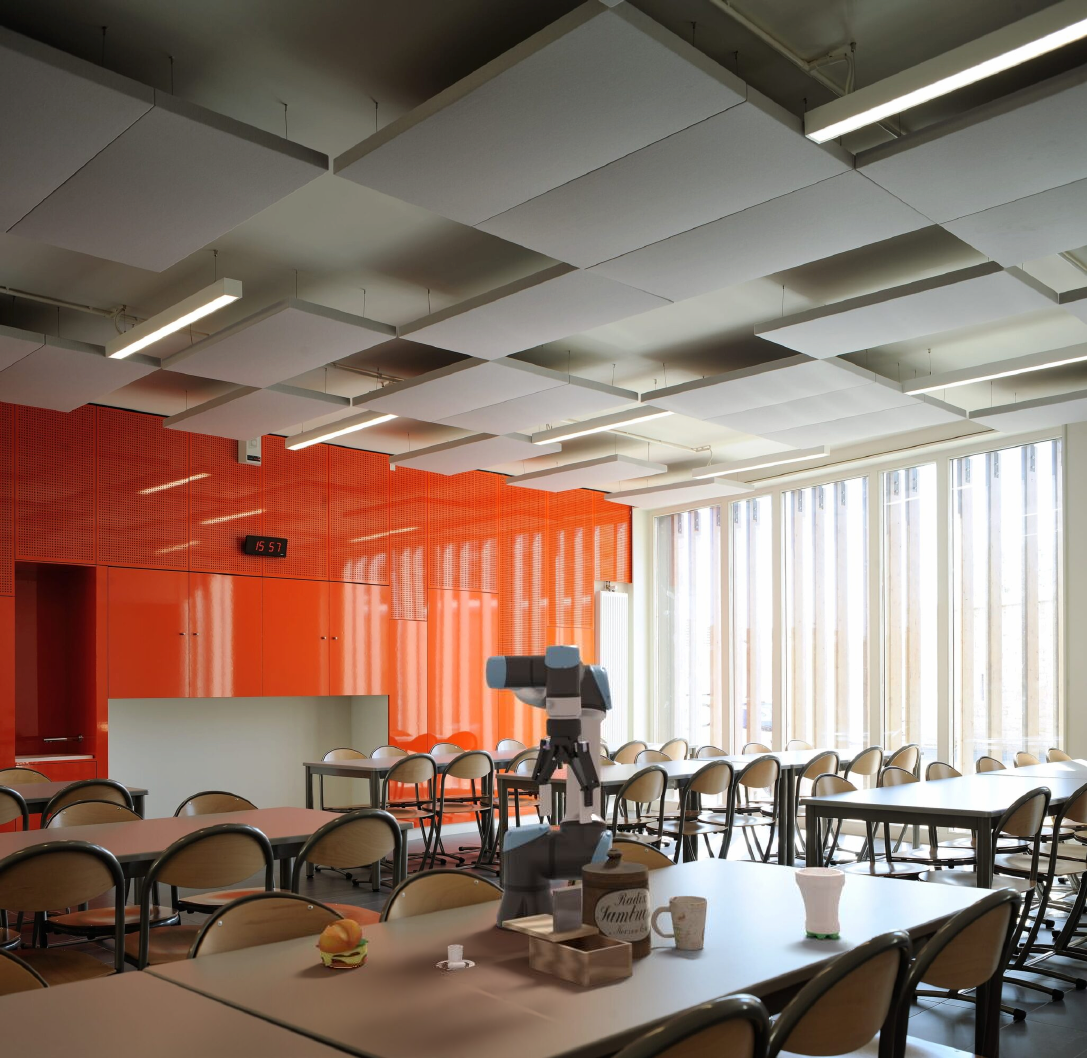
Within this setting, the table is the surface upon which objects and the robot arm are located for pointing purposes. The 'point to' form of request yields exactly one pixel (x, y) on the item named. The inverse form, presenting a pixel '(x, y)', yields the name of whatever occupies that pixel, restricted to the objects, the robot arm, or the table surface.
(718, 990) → the table surface
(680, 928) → the mug
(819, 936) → the cup
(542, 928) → the lid
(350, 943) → the cheeseburger
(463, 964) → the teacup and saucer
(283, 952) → the table surface
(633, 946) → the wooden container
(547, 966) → the box
